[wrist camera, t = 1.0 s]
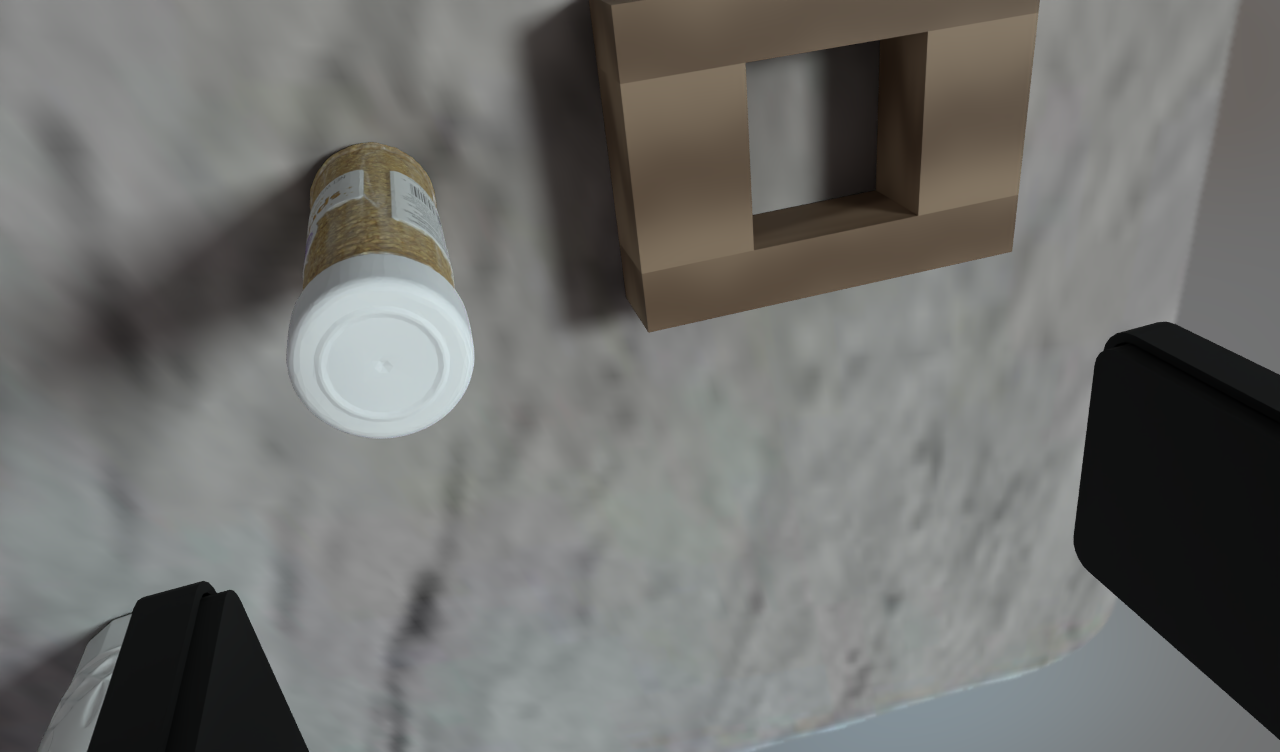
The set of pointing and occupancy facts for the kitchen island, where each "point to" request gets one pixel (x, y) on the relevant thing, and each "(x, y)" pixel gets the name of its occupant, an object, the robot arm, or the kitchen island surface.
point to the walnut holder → (827, 230)
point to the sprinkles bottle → (377, 300)
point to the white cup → (85, 692)
